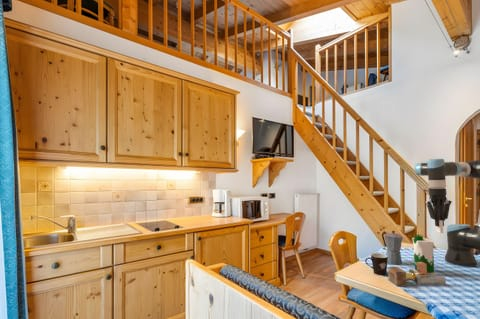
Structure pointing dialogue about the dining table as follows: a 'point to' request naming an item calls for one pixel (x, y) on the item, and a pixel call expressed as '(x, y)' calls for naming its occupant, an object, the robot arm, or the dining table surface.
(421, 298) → the dining table surface
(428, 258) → the milk carton
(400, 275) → the brown wooden block
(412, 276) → the gold piece
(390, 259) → the moka pot
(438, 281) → the sliding bolt latch
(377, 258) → the coffee mug
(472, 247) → the robot arm
